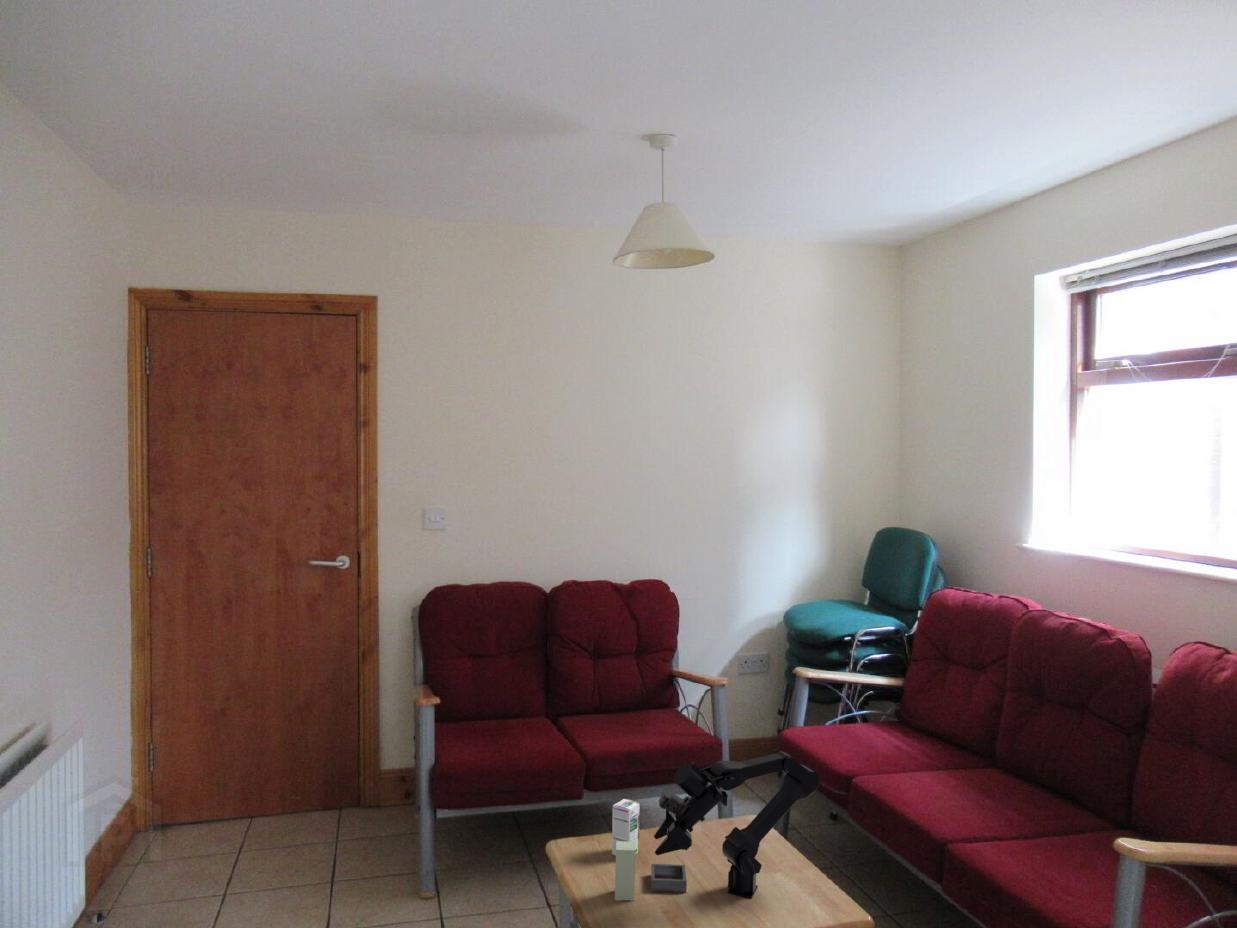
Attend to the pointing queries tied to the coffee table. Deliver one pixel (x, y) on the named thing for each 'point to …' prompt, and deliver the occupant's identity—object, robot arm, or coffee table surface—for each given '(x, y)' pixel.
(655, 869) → the square socket
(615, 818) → the syrup box
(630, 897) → the sage block
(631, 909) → the coffee table surface
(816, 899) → the coffee table surface
